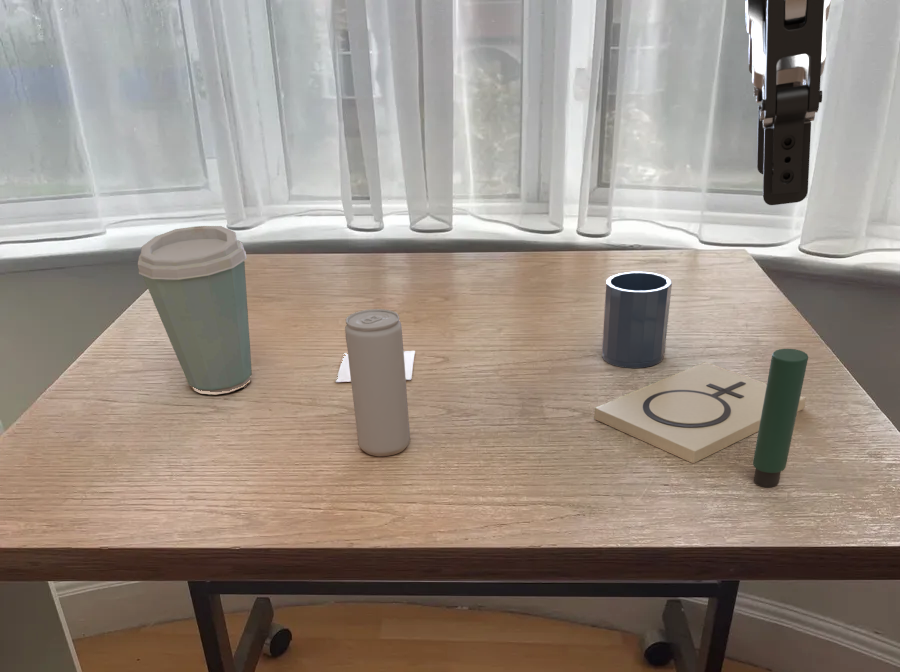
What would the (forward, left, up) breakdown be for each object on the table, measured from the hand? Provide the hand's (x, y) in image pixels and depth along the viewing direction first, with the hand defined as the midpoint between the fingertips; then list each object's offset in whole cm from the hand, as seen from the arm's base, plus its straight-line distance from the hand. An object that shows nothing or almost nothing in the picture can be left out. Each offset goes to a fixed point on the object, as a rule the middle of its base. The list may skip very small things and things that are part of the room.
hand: (780, 186), depth 51 cm
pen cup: (-24, -30, -26) cm, 46 cm away
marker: (-12, -4, -26) cm, 28 cm away
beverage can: (+8, -31, -26) cm, 41 cm away
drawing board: (-18, -16, -26) cm, 35 cm away
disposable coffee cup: (+13, -55, -26) cm, 62 cm away
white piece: (-2, -47, -26) cm, 54 cm away
